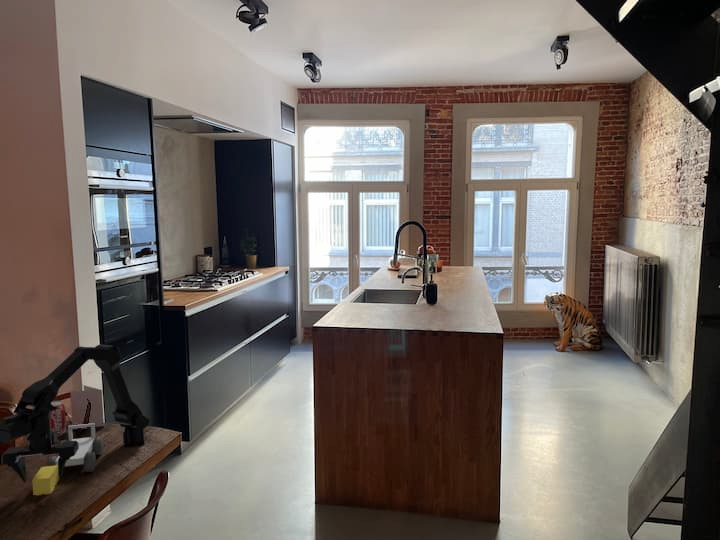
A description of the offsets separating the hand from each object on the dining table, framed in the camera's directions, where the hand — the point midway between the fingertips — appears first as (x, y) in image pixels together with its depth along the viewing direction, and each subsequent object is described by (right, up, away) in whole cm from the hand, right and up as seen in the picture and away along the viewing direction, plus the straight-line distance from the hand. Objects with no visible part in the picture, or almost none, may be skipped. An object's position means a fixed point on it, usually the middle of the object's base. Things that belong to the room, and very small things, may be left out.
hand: (43, 479), depth 151 cm
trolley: (+1, -2, +17) cm, 17 cm away
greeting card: (-11, +1, +46) cm, 48 cm away
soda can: (-20, 0, +40) cm, 45 cm away
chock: (0, -4, +2) cm, 4 cm away
